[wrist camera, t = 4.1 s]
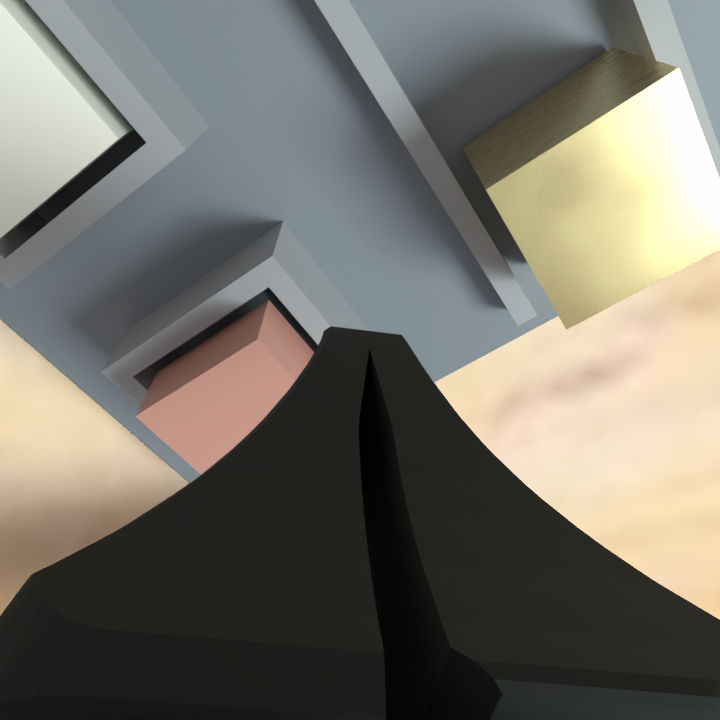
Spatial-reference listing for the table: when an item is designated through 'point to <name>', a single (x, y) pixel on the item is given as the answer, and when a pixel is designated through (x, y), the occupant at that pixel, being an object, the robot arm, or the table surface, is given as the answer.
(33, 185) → the cream button
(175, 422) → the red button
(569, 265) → the slider knob
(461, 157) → the panel
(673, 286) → the table surface
